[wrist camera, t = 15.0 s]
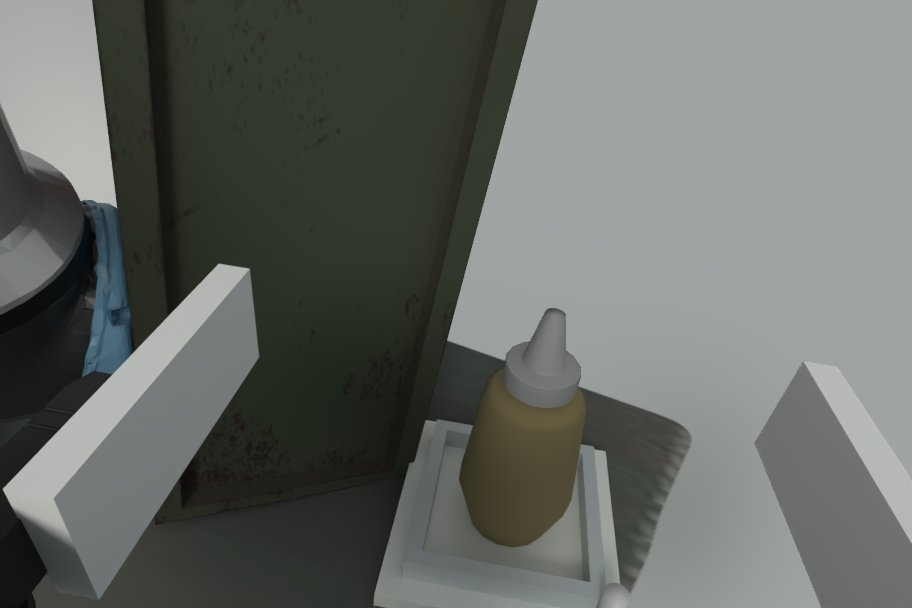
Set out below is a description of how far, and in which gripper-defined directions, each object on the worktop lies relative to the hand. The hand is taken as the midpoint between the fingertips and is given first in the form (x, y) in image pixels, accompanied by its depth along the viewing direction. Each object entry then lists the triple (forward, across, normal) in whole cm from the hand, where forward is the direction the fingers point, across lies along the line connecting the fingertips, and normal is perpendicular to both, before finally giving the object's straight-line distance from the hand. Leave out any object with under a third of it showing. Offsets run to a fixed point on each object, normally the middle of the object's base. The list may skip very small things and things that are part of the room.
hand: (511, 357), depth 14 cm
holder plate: (+16, +4, -29) cm, 33 cm away
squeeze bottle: (+16, +4, -28) cm, 32 cm away
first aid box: (+23, -17, -28) cm, 40 cm away
